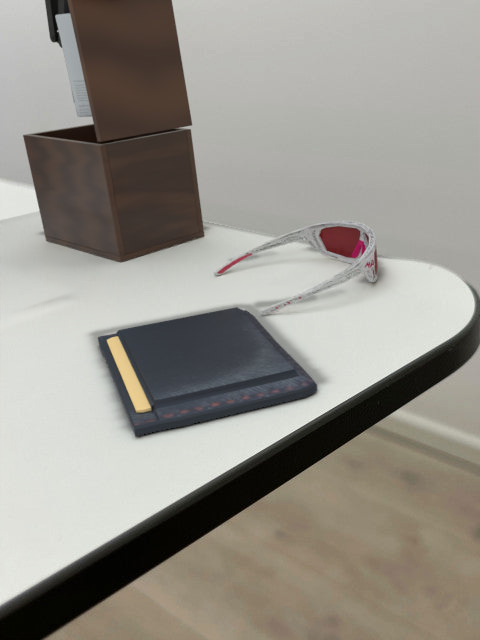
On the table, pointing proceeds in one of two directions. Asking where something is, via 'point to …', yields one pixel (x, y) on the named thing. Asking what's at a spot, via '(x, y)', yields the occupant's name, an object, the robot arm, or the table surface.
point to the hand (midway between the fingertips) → (101, 102)
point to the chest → (116, 190)
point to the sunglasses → (326, 253)
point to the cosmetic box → (73, 65)
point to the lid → (131, 66)
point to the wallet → (200, 369)
